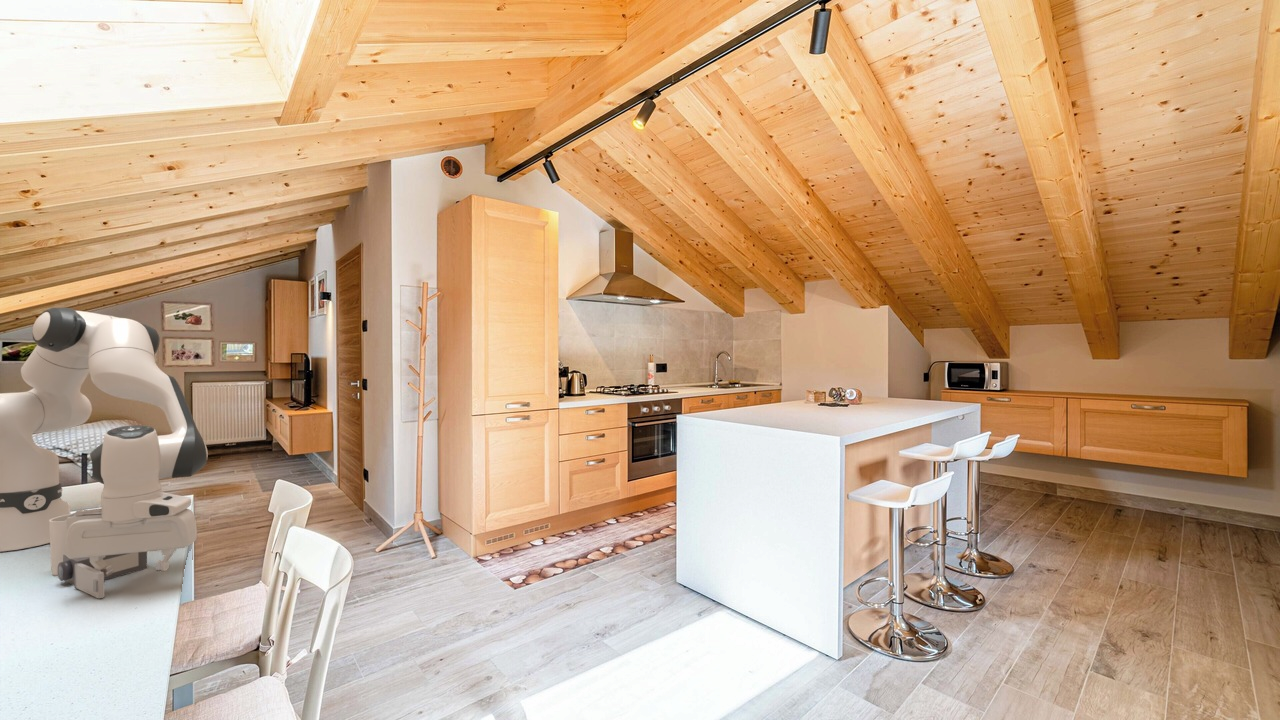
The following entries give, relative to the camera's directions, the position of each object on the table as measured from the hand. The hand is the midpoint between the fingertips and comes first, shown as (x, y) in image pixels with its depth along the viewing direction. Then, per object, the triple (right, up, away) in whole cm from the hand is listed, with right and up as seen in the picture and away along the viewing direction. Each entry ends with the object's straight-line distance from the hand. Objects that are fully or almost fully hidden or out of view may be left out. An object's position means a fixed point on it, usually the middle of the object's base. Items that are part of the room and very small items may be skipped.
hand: (134, 573), depth 106 cm
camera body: (-14, -4, +8) cm, 16 cm away
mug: (-22, -4, +11) cm, 25 cm away
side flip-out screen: (-8, -3, -2) cm, 8 cm away
